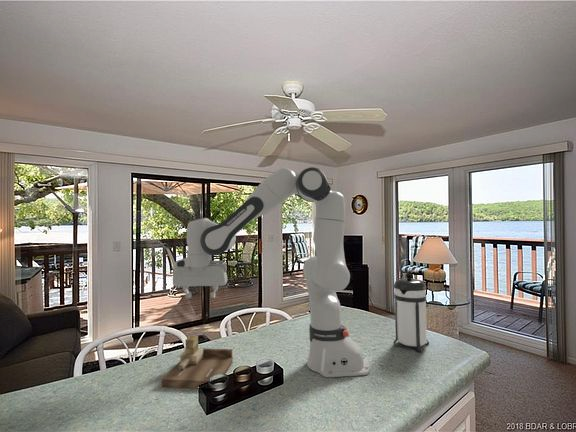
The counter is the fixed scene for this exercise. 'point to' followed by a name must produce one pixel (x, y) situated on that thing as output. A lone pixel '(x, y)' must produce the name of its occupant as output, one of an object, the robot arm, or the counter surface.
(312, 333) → the robot arm
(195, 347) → the marking slider
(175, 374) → the walnut board
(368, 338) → the counter surface
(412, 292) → the coffee press
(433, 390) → the counter surface
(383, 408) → the counter surface
